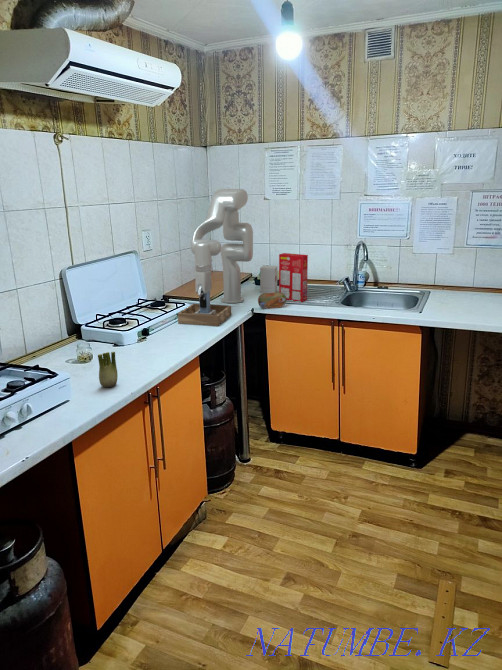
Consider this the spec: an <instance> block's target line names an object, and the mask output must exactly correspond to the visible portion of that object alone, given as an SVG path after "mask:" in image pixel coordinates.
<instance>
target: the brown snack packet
mask: <svg viewBox="0 0 502 670" xmlns="http://www.w3.org/2000/svg"><path fill="white" fill-rule="evenodd" d="M257 303H258V305H259V307H260V308H261V309H263V310H270V309H271V310H272V309H280V308H283V307H284V306H285V305H286V303H287V300H286V296H285V294H283V293H282V292H279V291H276V292H270V293H260V295H259V296H258V299H257Z"/></svg>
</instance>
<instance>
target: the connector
mask: <svg viewBox="0 0 502 670" xmlns="http://www.w3.org/2000/svg"><path fill="white" fill-rule="evenodd" d="M202 293H203V292H202ZM202 295H203V296H204V294H202ZM205 299H206V306H207V307H206V308H200V313H210V312H211V310H210V304H211V290H210V291H208V292H207V293H206V296H205ZM198 300H199V299H198ZM198 304H199V306H200V300H199V303H198Z"/></svg>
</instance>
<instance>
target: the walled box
mask: <svg viewBox="0 0 502 670" xmlns="http://www.w3.org/2000/svg"><path fill="white" fill-rule="evenodd" d="M187 307H188V308H187ZM187 307H185V308H183V310H181V311H180V312H178V313H177V324H178V325H191V326H192V325H193V326H205V327H206V326H207V327H219V326H221V325H222V324H223V323H224V322H226V321H227V320H228V319H229V318H230V317H232V305H229V304H211V303H210V310H211V312H210V313H200V306H199V303H192V304H190V305H189V306H187Z"/></svg>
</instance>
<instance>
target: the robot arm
mask: <svg viewBox="0 0 502 670" xmlns="http://www.w3.org/2000/svg"><path fill="white" fill-rule="evenodd" d="M248 196H249V195H248V193H247V191H246V189H243V188H219V189H217V190H216V191H215V192H214V194H213V195H212V196H211V200H210V202H209V203H210V204H209V207H208V211H207V216H206V219H204V221H203V222H201V223H200V224H199V226H198V227H197V228H196V229H195V230H194V232H193V235H192V240H191V246H190V249H191V252H192V254H194V267H195V269H194V271H195V279H194V280H195V281H194V282H195V287H194V288H195V290H194V291H195V293H196V294H197V296H198V298H199V299H198V300H200V308H206V307H207V306H206V299H205V296H206V293H207V292H208V291H210V292H211V290H212V287H213V286H212V285H213V284H212V257H216V256H218V255H219V254H220V256H221V257H220V258H221V262H222V263H221V264H222V277H223V279H222V280H223V281H222V284H223V297H222V298H220V301H221V302H222V303H224V304H225V303H226V304H238V303H242V302H243V303H244V301H245V298H244V297H242V285H241V284H242V283H241V282H242V281H241V278H242V277H241V267H240V265H239V264H238V262H242V263H243V262H251V261H252V259H253V257H254V256H253V255H254V232H253V231H254V230H253V226H252V224H250V223H249V222H240V218H239V216H240V215H239V210H241V209H242V208H243V207H245V206H246V204H247V203H248V200H249V199H248ZM221 227H222V234H223V238H224V240H226V241H231V242H227V243H223V245H222V244H221V242H220V241H218V240H216V239H203V238H204V236H205V235H207V234H209V233H210V232H213V231H215V230H217V229H220V228H221ZM232 241H233V242H232ZM234 242H235V243H234ZM236 242H237V243H236ZM238 242H242V243H238ZM202 292H203V293H202ZM202 294H204V296H203V295H202Z"/></svg>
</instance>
